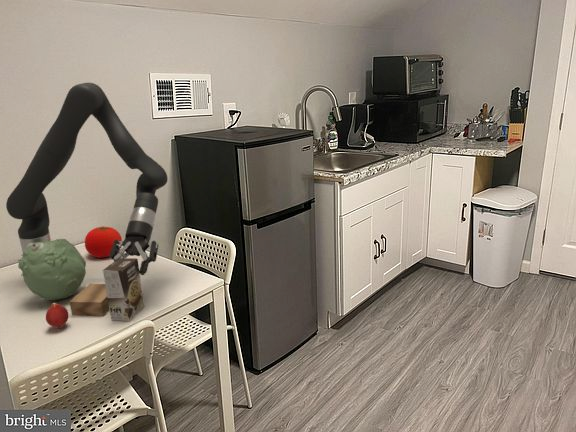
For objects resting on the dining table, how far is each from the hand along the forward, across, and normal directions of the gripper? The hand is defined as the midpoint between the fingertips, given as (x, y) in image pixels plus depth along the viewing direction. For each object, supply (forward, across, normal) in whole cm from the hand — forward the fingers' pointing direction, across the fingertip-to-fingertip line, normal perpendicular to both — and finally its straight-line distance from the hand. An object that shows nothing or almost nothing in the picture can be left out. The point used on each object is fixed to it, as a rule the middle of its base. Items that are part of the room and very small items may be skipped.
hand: (128, 273), depth 139 cm
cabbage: (+5, -28, +11) cm, 31 cm away
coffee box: (+10, 0, +6) cm, 12 cm away
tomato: (-20, -33, +36) cm, 53 cm away
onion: (+17, -16, -1) cm, 24 cm away
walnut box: (+8, -12, +8) cm, 17 cm away
